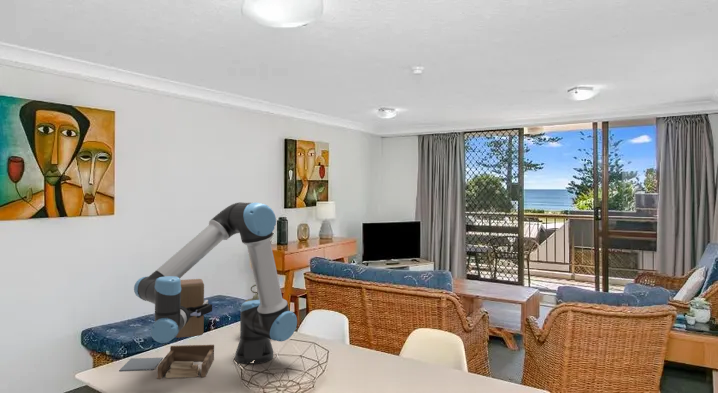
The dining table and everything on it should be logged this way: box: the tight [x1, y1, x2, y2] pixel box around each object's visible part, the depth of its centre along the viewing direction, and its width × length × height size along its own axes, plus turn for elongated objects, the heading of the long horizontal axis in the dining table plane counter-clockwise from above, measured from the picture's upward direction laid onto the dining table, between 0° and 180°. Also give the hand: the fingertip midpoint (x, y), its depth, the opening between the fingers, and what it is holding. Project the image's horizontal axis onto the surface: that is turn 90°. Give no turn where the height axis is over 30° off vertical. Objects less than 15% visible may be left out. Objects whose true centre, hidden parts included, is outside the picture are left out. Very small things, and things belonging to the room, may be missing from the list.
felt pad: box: [119, 357, 164, 372], centre depth 172 cm, size 12×12×1 cm
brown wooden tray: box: [156, 344, 215, 380], centre depth 169 cm, size 18×16×6 cm
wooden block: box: [175, 278, 205, 339], centre depth 171 cm, size 10×10×20 cm
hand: (190, 303), depth 173 cm, fingers closed on wooden block, 11 cm apart
